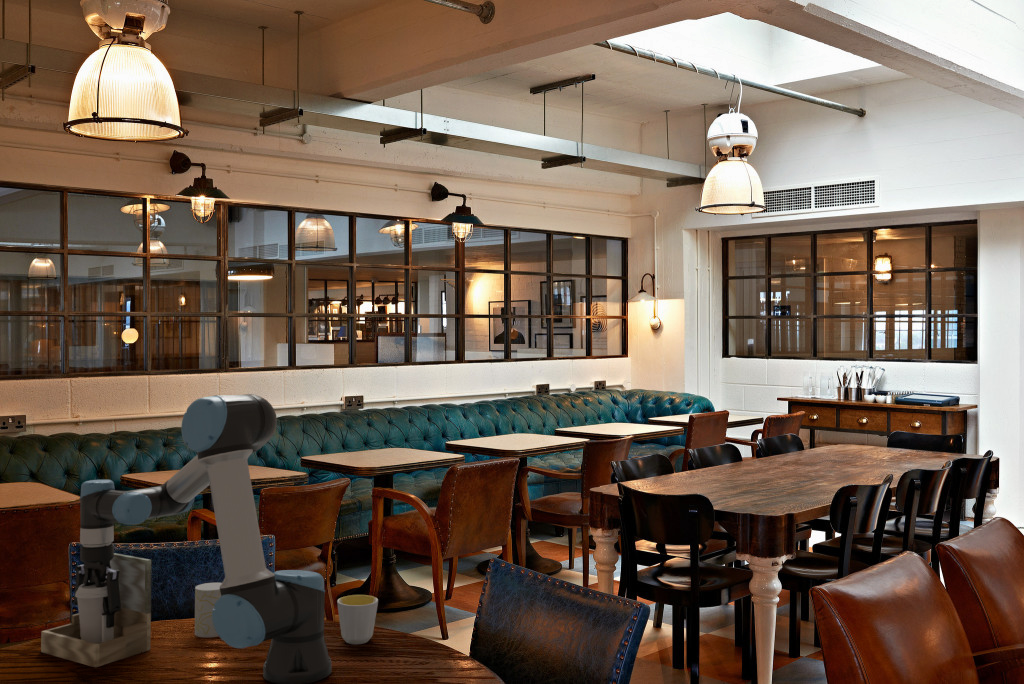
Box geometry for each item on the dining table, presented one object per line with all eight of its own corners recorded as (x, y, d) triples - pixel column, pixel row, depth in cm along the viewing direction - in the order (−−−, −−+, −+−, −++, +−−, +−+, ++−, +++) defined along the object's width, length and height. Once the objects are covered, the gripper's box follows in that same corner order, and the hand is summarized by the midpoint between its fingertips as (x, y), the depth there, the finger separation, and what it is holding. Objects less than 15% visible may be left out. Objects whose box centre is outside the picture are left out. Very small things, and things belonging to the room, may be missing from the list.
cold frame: (154, 648, 228) (155, 558, 228) (95, 667, 214) (96, 572, 214) (101, 634, 239) (101, 549, 239) (41, 652, 225) (42, 561, 225)
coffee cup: (101, 653, 220) (101, 590, 221) (66, 651, 222) (66, 588, 222) (126, 641, 230) (126, 580, 230) (91, 640, 232) (91, 579, 232)
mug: (373, 647, 230) (374, 605, 230) (332, 647, 230) (333, 604, 230) (383, 631, 243) (383, 591, 243) (344, 630, 244) (344, 590, 244)
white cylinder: (188, 635, 239) (188, 588, 239) (207, 626, 246) (207, 581, 247) (215, 638, 236) (215, 591, 236) (233, 629, 244) (234, 583, 244)
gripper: (137, 545, 224) (137, 640, 224) (85, 537, 235) (84, 627, 234) (110, 551, 218) (109, 648, 217) (57, 542, 228) (57, 635, 228)
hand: (96, 637), depth 226 cm, fingers closed on coffee cup, 7 cm apart
